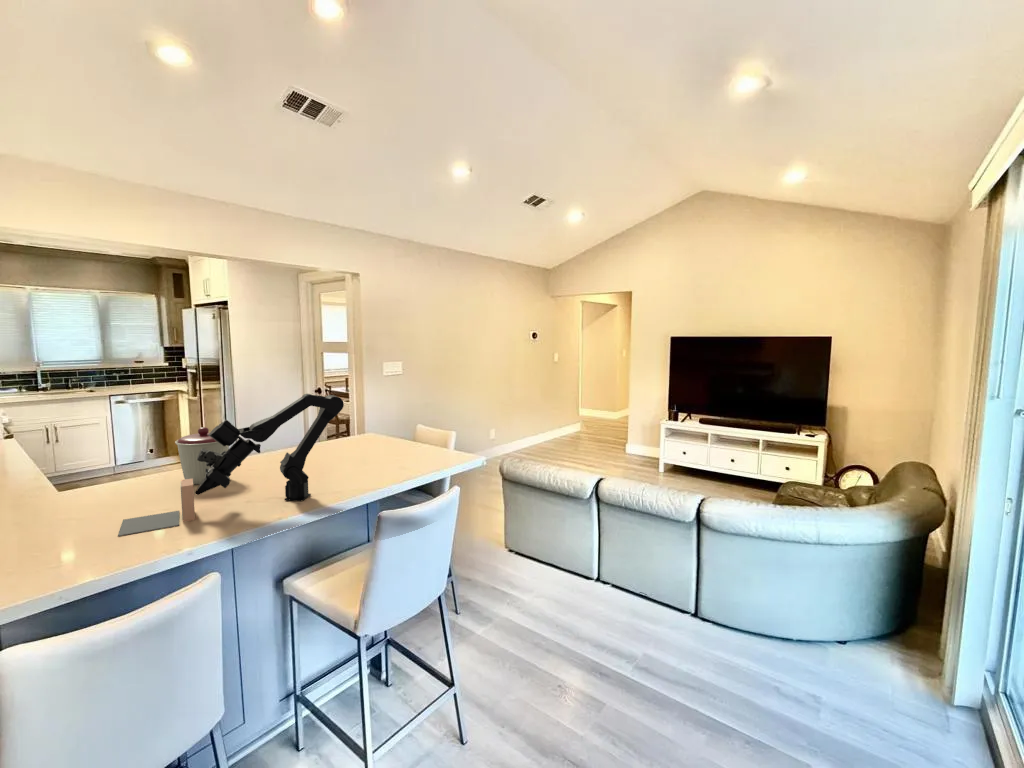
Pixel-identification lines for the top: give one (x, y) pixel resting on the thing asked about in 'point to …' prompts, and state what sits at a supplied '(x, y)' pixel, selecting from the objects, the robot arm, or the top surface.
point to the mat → (149, 523)
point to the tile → (187, 500)
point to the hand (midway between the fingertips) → (196, 494)
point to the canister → (196, 453)
